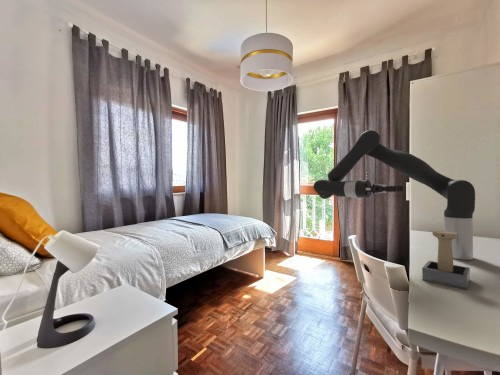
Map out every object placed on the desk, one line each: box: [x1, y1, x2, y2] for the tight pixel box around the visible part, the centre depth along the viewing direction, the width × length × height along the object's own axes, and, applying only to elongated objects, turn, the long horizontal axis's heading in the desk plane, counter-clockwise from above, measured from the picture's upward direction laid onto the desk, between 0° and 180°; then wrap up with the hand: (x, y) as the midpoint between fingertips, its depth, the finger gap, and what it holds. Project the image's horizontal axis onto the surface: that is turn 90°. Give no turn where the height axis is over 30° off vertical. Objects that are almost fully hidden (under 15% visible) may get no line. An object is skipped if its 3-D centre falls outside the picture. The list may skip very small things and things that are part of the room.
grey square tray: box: [421, 260, 471, 291], centre depth 77 cm, size 11×11×4 cm
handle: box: [432, 230, 458, 273], centre depth 77 cm, size 5×6×15 cm
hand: (400, 188), depth 91 cm, fingers open, 8 cm apart
